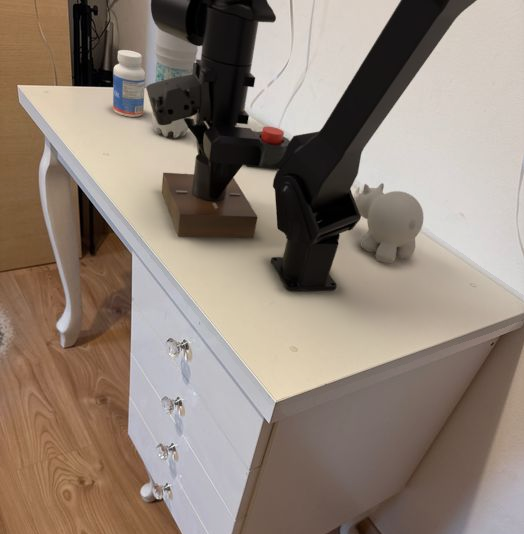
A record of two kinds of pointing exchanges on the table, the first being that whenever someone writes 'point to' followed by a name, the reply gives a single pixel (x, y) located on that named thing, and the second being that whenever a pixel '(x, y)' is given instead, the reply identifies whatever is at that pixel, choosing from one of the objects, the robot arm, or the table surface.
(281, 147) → the button box
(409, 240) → the chubby cartoon animal
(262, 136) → the button
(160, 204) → the table surface
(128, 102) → the pill bottle
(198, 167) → the knob
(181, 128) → the bottle
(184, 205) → the panel
